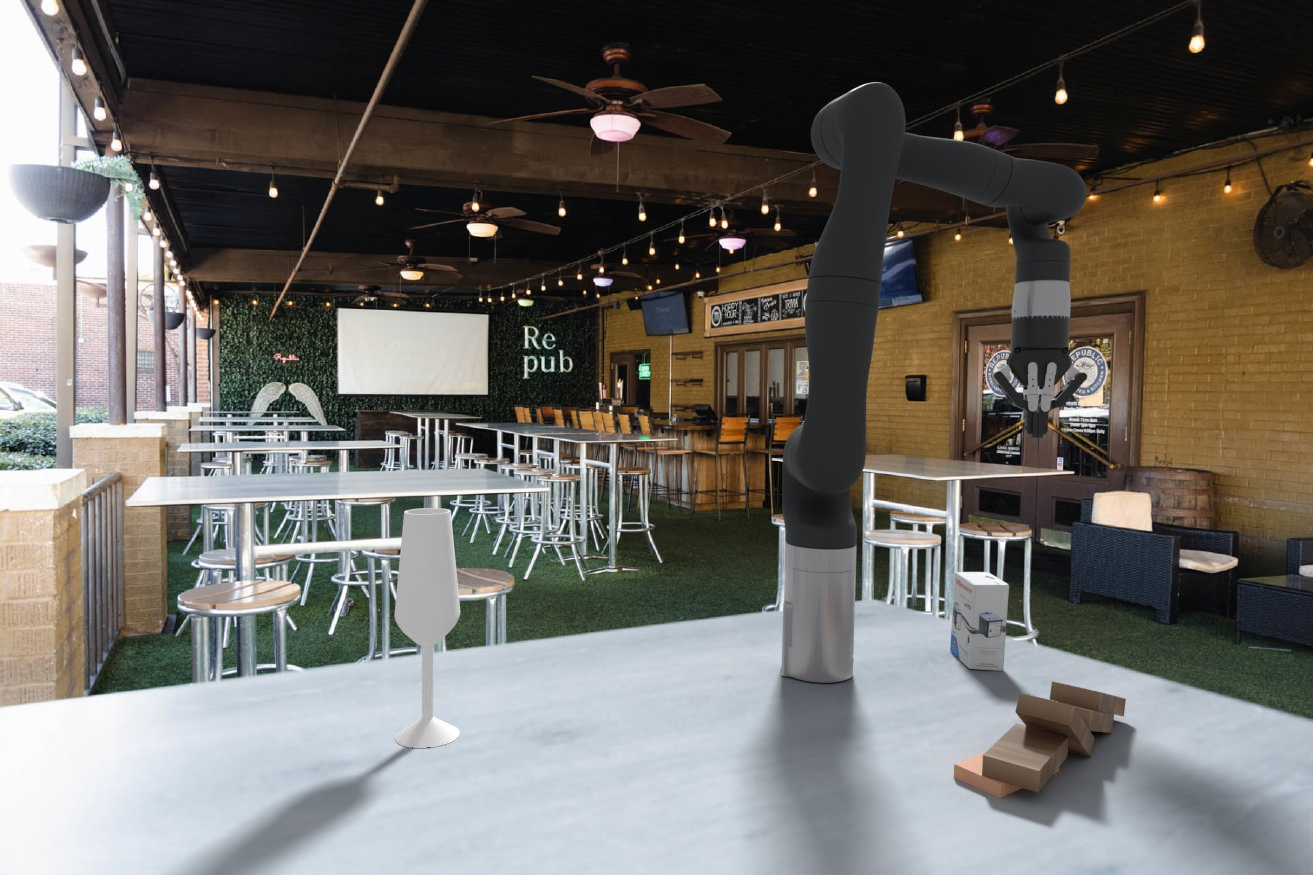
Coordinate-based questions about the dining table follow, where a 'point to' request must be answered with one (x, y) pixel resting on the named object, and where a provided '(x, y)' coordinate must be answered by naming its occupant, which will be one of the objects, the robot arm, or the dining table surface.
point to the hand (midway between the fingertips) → (1035, 437)
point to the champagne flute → (427, 608)
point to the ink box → (979, 620)
